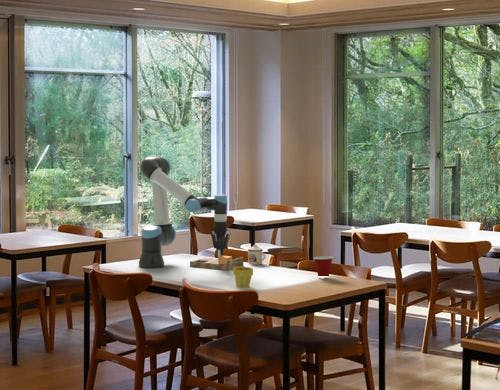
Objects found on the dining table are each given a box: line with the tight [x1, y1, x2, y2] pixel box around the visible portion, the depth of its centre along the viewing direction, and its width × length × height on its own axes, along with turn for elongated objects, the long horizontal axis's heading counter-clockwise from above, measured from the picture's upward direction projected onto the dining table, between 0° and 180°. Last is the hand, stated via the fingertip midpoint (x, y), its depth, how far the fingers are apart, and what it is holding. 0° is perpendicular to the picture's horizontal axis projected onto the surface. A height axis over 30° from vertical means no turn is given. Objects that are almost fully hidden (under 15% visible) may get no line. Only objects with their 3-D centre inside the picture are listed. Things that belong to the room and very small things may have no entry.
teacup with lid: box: [247, 244, 266, 266], centre depth 557 cm, size 12×9×12 cm
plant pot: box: [232, 266, 254, 289], centre depth 481 cm, size 10×10×10 cm
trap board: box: [189, 256, 245, 271], centre depth 547 cm, size 27×17×6 cm, turn 63°
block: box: [217, 255, 233, 265], centre depth 538 cm, size 6×6×4 cm
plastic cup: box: [313, 255, 334, 277], centre depth 510 cm, size 11×11×12 cm
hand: (219, 260), depth 540 cm, fingers closed
